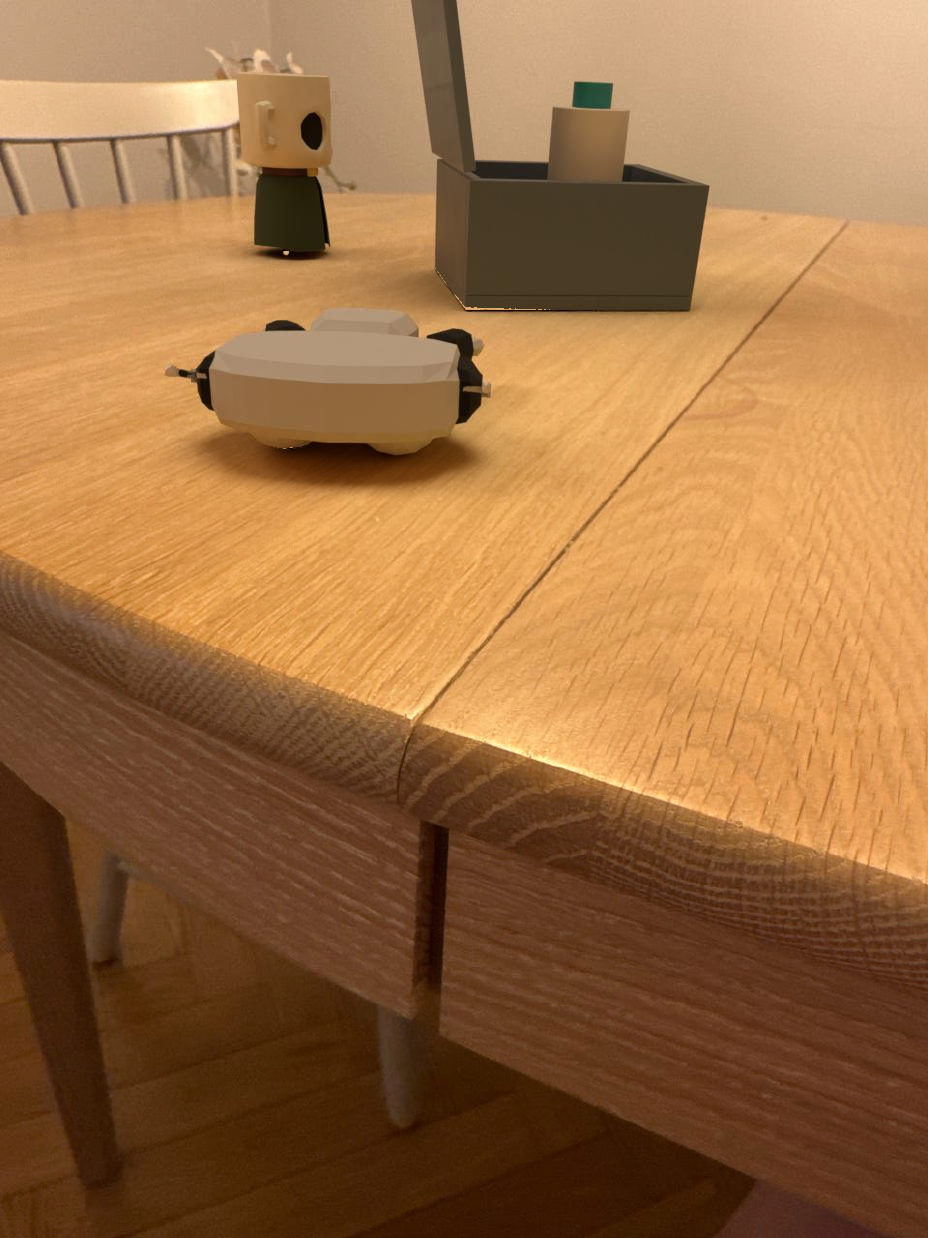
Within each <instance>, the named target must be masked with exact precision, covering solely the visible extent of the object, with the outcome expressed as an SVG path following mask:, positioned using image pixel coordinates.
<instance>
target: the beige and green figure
mask: <svg viewBox="0 0 928 1238" xmlns="http://www.w3.org/2000/svg"><path fill="white" fill-rule="evenodd" d="M235 78H236V92H237V106H238V120H239V132H240V146H241V156H242V160H243V162H245V163H247V164H249V165H251V166H255V167H261V174H259V175H258V178H257V181H256V184H255V199H254V200H255V201H254V215H253V217H254V218H253V244H254V245H255V246H259V247H260V246H261V247H267V248H276V249H282V250H281V251H282V252H283V251H290V252H295V253H299V252H302V253H303V252H305V253H306V252H307V253H308V252H309V253H311V252H317V251H318V252H319V251H325V250H326V245H328V247H329V248H330V247H331V241H330V239H331V238H330V231H329V223H328V216H327V211H326V205H325V200H324V194H323V189H322V185H321V183H320V181H319V178H318V175H319V169H320V168H325V167H327V166H330V165H331V163H332V158H333V153H334V152H333V150H334V149H333V144H332V133H331V121H332V119H331V118H332V103H331V102H332V101H331V89H330V88H331V86H330V76H328V75H324V74H323V75H321V74H320V75H319V74H304V73H287V72H285V73H283V72H263V71H262V72H261V71H260V72H259V71H258V72H257V71H238V72H236V77H235Z"/></svg>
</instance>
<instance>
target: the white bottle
mask: <svg viewBox="0 0 928 1238" xmlns="http://www.w3.org/2000/svg"><path fill="white" fill-rule="evenodd" d="M613 90H614V83H613V82H605V81H604V82H602V81H582V80H581V81H580V80H579V81H577V80H575V81H574V82H573V90H572V91H573V92H572V102H571V105H553V106H552V112H551V124H550V136H549V137H550V138H549V150H548V161H547V162H548V175H547V180H567V181H609V182H622V176H623V168H624V164H625V159H626V151H627V142H628V141H627V140H628V132H629V131H628V130H629V123H630V114H631V110H630V108H629V109H628V108H623V107H621V108H620V107H612V102H613V101H612V99H613Z"/></svg>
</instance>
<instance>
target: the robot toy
mask: <svg viewBox="0 0 928 1238" xmlns="http://www.w3.org/2000/svg"><path fill="white" fill-rule="evenodd" d="M419 328H420V327H419V326H418V325H417V323H416V322H415V321H414V319H413V318H412V317H411V316H410V315H409V313H408V312H405V311H404V312H403V311H399V310H393V309H386V308H385V309H384V308H371V307H370V308H367V307H334V308H325V309H324V310H322V311H321V313H320V314H318V316H317V317H316V318H315V319H314V320H313V321H312V322H311V324H310V328H309V330H307V329H306V328H305V327H303V326H302V325H300V324H299V323H297V322H294V321H291V320H288V319H275V320H273V321H271V322H268V323H266V324H265V328H264V327H263V328H262V330H261V331H256V332H246V333H244V332H243V333H237V334H236V335H235V336H233V337H232V338H230V339H228V341H225V343H223V344H222V345H220V346H218V347H217V348H215V349H214V350H213V351H211V352H210V353H209V354H207V355H206V356H204V357H203V358H202V361H201V362H199V364H198V366H197V367H196V368H190V370H188V369H184V368H183V369H182V368H179V367H178V368H177V366H176V365H169V364H164V376H165V377H169V378H177V377H179V378H182V379H183V378H184V379H189V380H190V383H193V384H196V386H197V388H196V389H197V393H198V397H199V399H200V402H201V403H202V404H203V405H204V406H205V407H206V409H208V410H209V411H212V412H214V413H215V415H216V417H217V419H218V421H219V423H220V424H221V425H223V426H225V427H227V428H231V429H233V430H235V431H237V432H240V433H245V434H249V435H250V436H251V437H252V438H255V439H256V440H257V441H258V442H260V443H261V444H263V445H265V446H267V445H269V446H268V447H271V446H274V447H273V448H275V447H279V448H290V447H300V448H303V447H302V446H304V445H306V446H307V445H309V444H311V443H312V442H317V443H329V444H330V443H333V444H335V443H339V444H344V443H346V444H356V443H357V444H366V445H368V446H370V447H372V448H373V449H374V450H375V451H377V452H380V453H385V454H389V455H392V456H399V455H400V456H402V455H408V454H414V453H416V452H418V451H419V450H421V449H423V448H424V447H427V446H428V445H430V444H431V443H432V442H433V440H434V439H438V438H439V439H440V438H443V437H449V436H451V435H452V432H453V430H454V428H455V426H456V425H460V424H461V425H462V424H465V423H467V422H468V421H469V420H470V418H471V417H472V416H473V415H474V413H475V412H476V411H477V410H478V409H480V407H481V406H482V398H483V399H485V398H487V399H490V398H491V395H492V394H491V393H492V383H491V381H489V380H483V378H484V375H483V374H482V372H481V371H480V370H479V368H478V367H477V366H476V364H475V362H474V361H473V357H476V356H479V355H480V354H481V353H482V352H483V350H484V347H485V345H484V341H483V339H482V338H478V337H473V336H472V334H471V333H470V332H468V331H466V330H465V329H463V328H456V327H452V328H448V329H445V330H442V331H437V332H433V333H431V334H428V335H426V337H419V336H420V335H419V330H420V329H419ZM304 447H305V446H304ZM279 448H278V449H279Z"/></svg>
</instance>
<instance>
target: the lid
mask: <svg viewBox="0 0 928 1238" xmlns="http://www.w3.org/2000/svg"><path fill="white" fill-rule="evenodd" d="M410 3H411V10H412V18H413V24H414V33H415V40H416V48H417V55H418V61H419V68H420V69H419V70H420V74H421V75H420V77H421V83H422V90H423V98H424V104H425V113H426V120H427V126H428V134H429V142H430V149H431V153H432V154H433V155H436V156H437V157H439V159H443V160H445V161H447V162H448V163H450V164H452V165H453V166H455V167H456V168H458V169H460V170H461V171H463V172H471V171H475V170H476V164H475V160H476V156H475V155H476V154H475V148H474V139H473V131H472V130H473V129H472V121H471V114H470V113H471V112H470V106H469V105H470V103H469V95H468V87H467V78H466V70H465V69H466V68H465V62H464V61H465V60H464V53H463V43H462V36H461V34H462V33H461V27H460V18H459V10H458V2H457V0H410Z"/></svg>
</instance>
